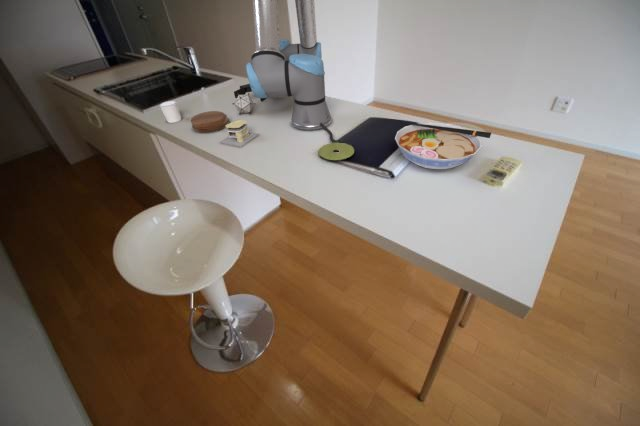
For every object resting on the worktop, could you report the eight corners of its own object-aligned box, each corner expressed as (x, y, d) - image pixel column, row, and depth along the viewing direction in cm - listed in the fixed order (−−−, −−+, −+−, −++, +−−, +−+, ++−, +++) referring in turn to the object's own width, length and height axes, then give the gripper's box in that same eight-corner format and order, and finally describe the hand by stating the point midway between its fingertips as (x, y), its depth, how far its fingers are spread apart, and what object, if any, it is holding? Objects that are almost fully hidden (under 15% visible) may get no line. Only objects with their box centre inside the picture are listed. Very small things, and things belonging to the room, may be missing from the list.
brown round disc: (233, 127, 113) (230, 118, 111) (197, 136, 108) (193, 127, 106) (223, 115, 123) (221, 107, 120) (190, 123, 118) (187, 115, 115)
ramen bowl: (376, 170, 83) (379, 144, 78) (403, 138, 97) (406, 114, 92) (469, 193, 72) (479, 165, 67) (484, 153, 87) (493, 127, 81)
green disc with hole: (352, 166, 86) (352, 160, 84) (315, 164, 87) (315, 159, 86) (355, 148, 94) (355, 142, 93) (321, 147, 96) (321, 141, 94)
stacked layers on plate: (239, 131, 109) (235, 117, 106) (258, 135, 106) (255, 120, 102) (221, 142, 103) (216, 128, 99) (240, 146, 99) (236, 131, 96)
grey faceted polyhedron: (248, 123, 124) (239, 110, 115) (235, 112, 126) (225, 99, 117) (262, 108, 125) (254, 93, 115) (248, 98, 127) (239, 83, 117)
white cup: (186, 117, 123) (180, 101, 119) (174, 124, 119) (167, 107, 114) (174, 116, 126) (168, 99, 121) (162, 122, 121) (155, 105, 116)
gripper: (298, 92, 134) (273, 108, 120) (255, 88, 143) (227, 102, 129) (297, 75, 129) (270, 90, 115) (252, 71, 138) (222, 84, 124)
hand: (247, 96), depth 122 cm, fingers open, 13 cm apart
